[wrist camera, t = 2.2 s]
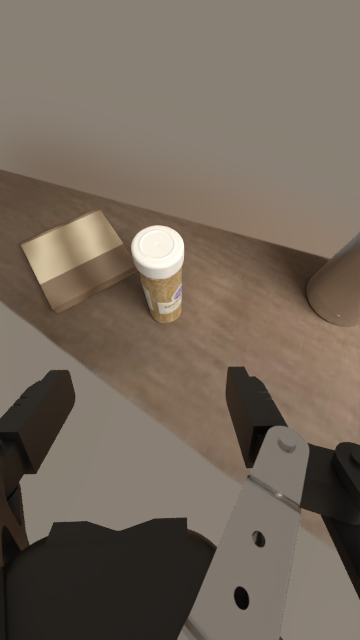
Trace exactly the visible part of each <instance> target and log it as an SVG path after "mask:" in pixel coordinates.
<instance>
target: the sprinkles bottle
mask: <svg viewBox="0 0 360 640" xmlns="http://www.w3.org/2000/svg"><path fill="white" fill-rule="evenodd" d="M131 252H132V257H133V260H134V264H135V266H136V268H137V269H138V271H139V273H140V277H141V283H142V286H143V290H144V293H145V296H146V299H147V303H148V305H149V307H150V313H151V315H152V317H153V318H154V319H155V320H156V321H158V322H161V323H170V322H173V321H174V320H176V319H177V318H178V317H179V315H180V314H181V309H182V308H181V299H182V282H181V280H182V279H181V278H182V270H181V269H182V264H183V261H184V243H183V240H182V238H181V236H180V235H179V234H178V233H177V232H176V231H175V230H173V229H171V228H169V227H166V226H150V227H147V228H145V229H143V230H141V231H140V232H139V233H138V234H137V235H136V236H135V237H134V239H133V241H132V244H131Z"/></svg>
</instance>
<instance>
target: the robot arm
mask: <svg viewBox="0 0 360 640" xmlns="http://www.w3.org/2000/svg"><path fill="white" fill-rule="evenodd" d="M306 291H307V298H308V301H309V303H310V305H311V307H312V308H313V309H314V310H315V312H316V313H317V314H318V315H320V316H321V317H322V318H323V319H325V320H327V321H328V322H331V323H333V324H336V325H340V326H355V325H358V324H360V232H359V233H358V234H357V235H356V236H354V237H353V238H352V239H351V240H350V241H349V242H348V243H347V244H346V245H345V246H344V247H343V248H342V249H341V250H340V251H339V252H338V253H336V254H335V255H334V256H333V257H332V258H331V259H330V260H329V261H328V262H327V263H326V264H325V265H323V266H322V267H321V268H320V269H319V270H318V271H317V272H316V273H315V274H314V275H313V276H312V277H311V278H310V280H309V282H308V283H307V288H306ZM226 402H227V406H228V409H229V412H230V416H231V419H232V422H233V426H234V429H235V432H236V436H237V439H238V442H239V446H240V449H241V452H242V456H243V459H244V462H245V466H246V468H253V469H252V471H251V473H250V475H249V476H247V478H246V480H245V482H244V484H243V487H242V489H241V491H240V494H239V496H238V499H237V501H236V504H235V506H234V509H233V511H232V513H231V516H230V518H229V520H228V523H227V526H226V528H225V530H224V533H223V535H222V537H221V540H220V542H219V545H218V547H216V546H215V545H214V544H213V543H212V542H211V541H210V540H208V539H207V538H205V537H204V536H203V535H201V534H199V533H197V532H195V531H192V530H189V529H187V518H161V519H152V520H150V521H147V522H144V523H141V524H138V525H136V526H133V527H130V528H127V529H124V530H121V531H115V530H112V529H109V528H106V527H103V526H100V525H97V524H93V523H90V522H87V521H81V522H54V523H53V525H52V528H51V531H50V533H49V535H48V536H47V537H45V538H43V539H40V540H38V541H36V542H35V543H33V544H31V545H30V544H29V541H28V537H27V533H26V527H25V519H24V511H23V503H22V493H21V487H20V483H19V481H20V479H21V478H22V476H23V475H24V474H36V473H37V471H38V469H39V468H40V466H41V464H42V462H43V460H44V459H45V457H46V455H47V453H48V451H49V449H50V448H51V446H52V444H53V442H54V440H55V439H56V437H57V435H58V433H59V431H60V430H61V428H62V426H63V424H64V422H65V421H66V419H67V417H68V415H69V413H70V412H71V410H72V408H73V406H74V403H75V392H74V388H73V384H72V380H71V376H70V373H69V371H68V370H51V371H49V372H48V373H47V375H46V376H45V377H44V378H43V379H42V380H41V381H38V382H36V383H35V384H33V385H32V386H30V387H29V388H28V389H27V390H26V391H25V392H24V393H23V394H22V395H21V396H20V399H18V400H17V401H16V402H15V403H14V404H13V406H11V407H10V409H9V410H8V411H7V412H6V413H5V414H4V415H3V416H2V417H1V419H0V640H283V639H282V638H281V636H280V633H281V627H282V621H283V615H284V609H285V603H286V597H287V591H288V585H289V580H290V574H291V568H292V562H293V557H294V551H295V545H296V539H297V533H298V527H299V522H300V515H301V508H303V509H306V510H309V511H312V512H315V513H318V514H321V517H322V519H323V521H324V523H325V525H326V527H327V530H328V532H329V534H330V536H331V538H332V540H333V543H334V545H335V547H336V549H337V551H338V554H339V556H340V558H341V560H342V562H343V564H344V567H345V569H346V571H347V573H348V575H349V577H350V580H351V582H352V584H353V586H354V588H355V590H356V593H357V595H358V597H359V599H360V445H358V444H355V443H351V442H343V443H340V444H338V445H337V447H336V449H335V450H331V449H327V448H323V447H319V446H315V445H312V444H309V443H307V442H306V440H305V439H304V438H303V437H302V436H301V435H300V434H299V433H298V432H296V431H295V430H293V429H291V428H289V427H288V426H287V424H286V422H285V420H284V419H283V417H282V415H281V413H280V412H279V410H278V408H277V406H276V405H275V403H274V401H273V400H272V398H271V396H270V394H269V393H268V391H267V389H266V387H265V385H264V384H263V383H262V382H261V381H260V380H259V379H258V378H256V377H249V375H248V373H247V371H246V369H245V367H228V372H227V382H226Z"/></svg>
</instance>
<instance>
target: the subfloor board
mask: <svg viewBox="0 0 360 640" xmlns="http://www.w3.org/2000/svg"><path fill="white" fill-rule="evenodd" d="M20 244H21V246H22V248H23V250H24V252H25V254H26V256H27V258H28V261H29V263H30V265H31V267H32V269H33V271H34V273H35V275H36V277H37V279H38V281H39V283H40V285H41V287H42V289H43V291H44V293H45V295H46V298H47V300H48V302H49V304H50V306H51V308H52V310H54V311H55V312H56V313H58V314H59V313H60V312H62V311H64V310H66V309H68V308H70V307H72V306H74V305H76V304H78V303H79V302H81V301H83V300H85V299H87V298H89V297H91V296H93V295H95V294H96V293H98V292H100V291H102V290H104V289H106V288H108V287H110V286H112V285H113V284H115V283H117V282H119V281H121V280H123V279H125V278H127V277H129V276H130V275H132V274H134V273H136V272H138V269H137V268H136V266H135V264H134V260H133V257H132V256H131V254H130V253H129V251H128V250H127V248H126V247H125V245H124V244H123V242H122V241H121V240H120V238H119V237H118V235H117V234H116V232H115V231H114V229H113V228H112V226H111V225H110V224H109V222H108V221H107V219H106V218H105V216H104V215H103V213H102V212H101V210H100V209H99V208H98V209H95V210H93V211H91V212H89V213H86V214H84V215H82V216H80V217H77V218H75V219H73V220H71V221H68V222H66V223H64V224H62V225H59V226H57V227H55V228H53V229H50V230H48V231H46V232H44V233H41V234H39V235H37V236H35V237H32V238H30V239H28V240H26V241H23V242H21V243H20Z"/></svg>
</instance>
